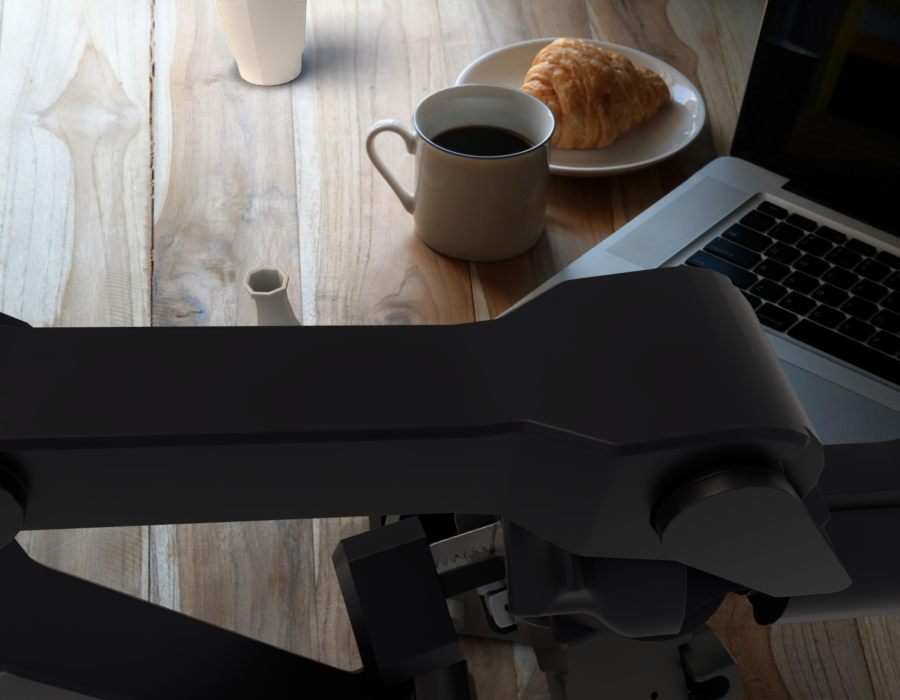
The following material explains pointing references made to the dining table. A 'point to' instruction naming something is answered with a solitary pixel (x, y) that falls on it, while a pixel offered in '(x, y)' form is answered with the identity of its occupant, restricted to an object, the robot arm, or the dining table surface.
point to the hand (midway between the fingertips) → (516, 546)
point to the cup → (265, 37)
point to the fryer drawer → (463, 605)
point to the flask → (269, 297)
